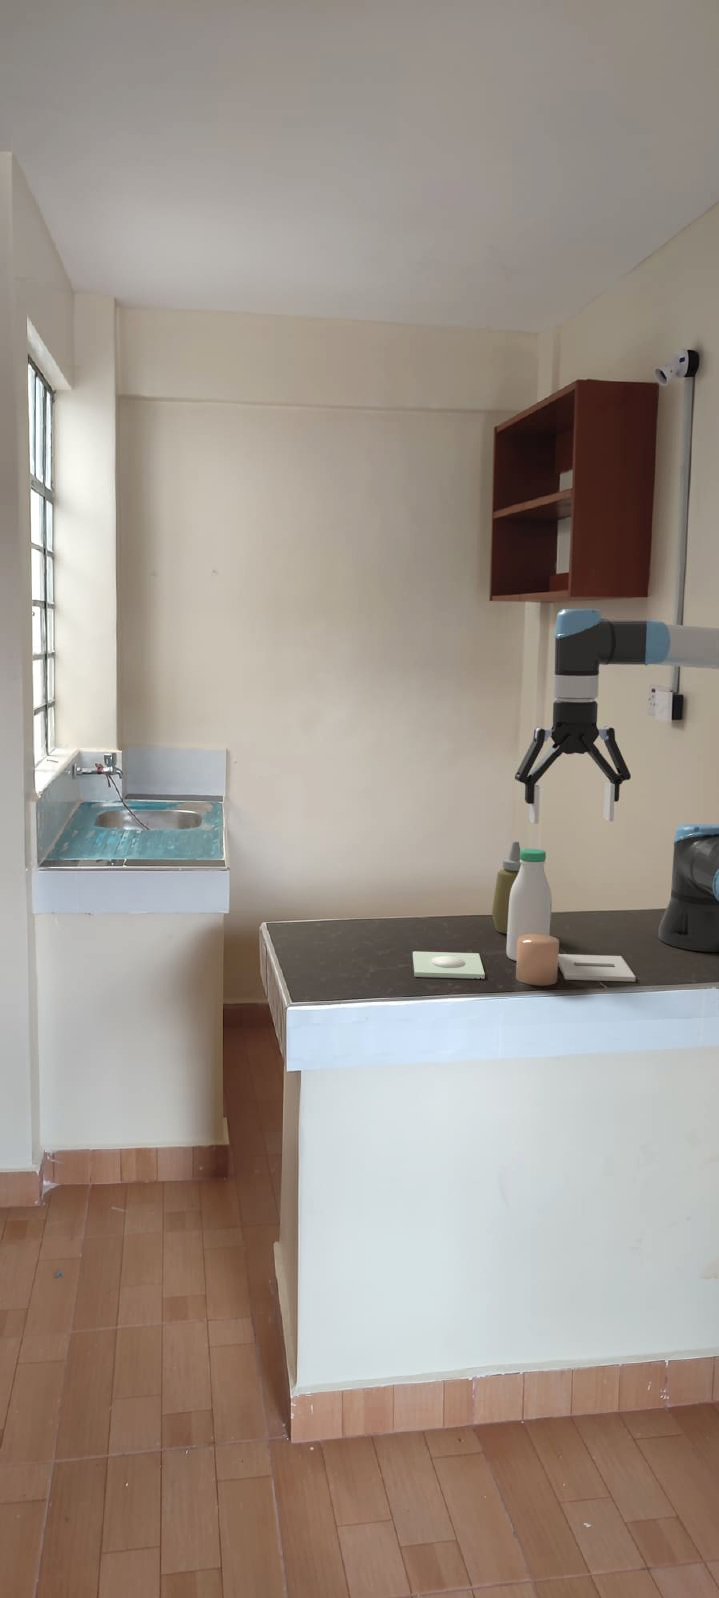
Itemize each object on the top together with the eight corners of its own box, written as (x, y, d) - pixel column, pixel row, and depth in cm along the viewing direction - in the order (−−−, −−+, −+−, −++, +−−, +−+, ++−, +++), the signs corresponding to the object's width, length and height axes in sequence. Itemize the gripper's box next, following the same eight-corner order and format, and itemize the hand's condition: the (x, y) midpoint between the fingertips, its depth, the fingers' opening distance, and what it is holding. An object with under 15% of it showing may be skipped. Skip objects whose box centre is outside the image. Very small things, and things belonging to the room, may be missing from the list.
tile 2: (620, 960, 207) (621, 955, 207) (635, 981, 195) (635, 976, 195) (554, 958, 207) (555, 953, 207) (565, 979, 195) (565, 973, 195)
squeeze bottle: (508, 923, 230) (513, 836, 227) (540, 932, 224) (545, 843, 221) (482, 930, 224) (486, 841, 221) (514, 939, 218) (518, 848, 215)
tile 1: (478, 957, 206) (478, 952, 206) (484, 978, 195) (484, 973, 194) (412, 955, 207) (412, 950, 206) (414, 976, 195) (414, 971, 195)
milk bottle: (547, 965, 203) (554, 856, 200) (504, 962, 204) (509, 853, 201) (549, 953, 210) (555, 847, 207) (507, 949, 212) (513, 844, 208)
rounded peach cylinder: (553, 973, 199) (555, 934, 198) (559, 986, 192) (562, 946, 191) (513, 971, 199) (515, 933, 198) (518, 984, 192) (520, 945, 191)
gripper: (635, 697, 201) (630, 815, 204) (499, 698, 197) (496, 819, 200) (653, 700, 193) (647, 823, 197) (511, 702, 189) (508, 827, 193)
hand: (571, 821), depth 199 cm, fingers open, 13 cm apart
